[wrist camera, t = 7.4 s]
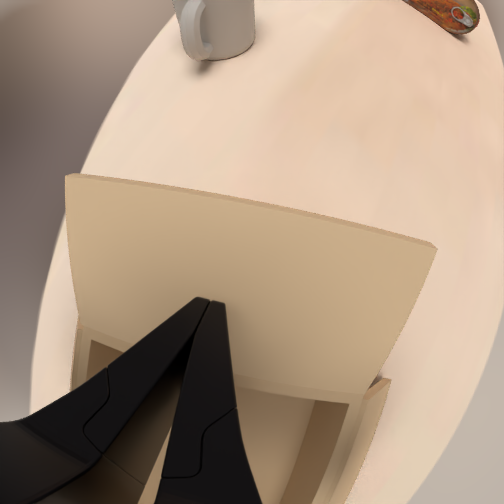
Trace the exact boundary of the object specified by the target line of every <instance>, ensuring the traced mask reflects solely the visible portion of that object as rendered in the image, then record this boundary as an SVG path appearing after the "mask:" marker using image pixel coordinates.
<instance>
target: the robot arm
mask: <svg viewBox="0 0 504 504" xmlns="http://www.w3.org/2000/svg"><path fill="white" fill-rule="evenodd" d="M171 426H172V428H171ZM170 428H171V432H170V436H169V441H168V445H167V450H166V454H165V459H164V464H163V468H162V473H161V479H160V483H159V487H158V491H157V495H156V498H155V502H154V504H263V503H262V500H261V497H260V494H259V492H258V489H257V486H256V483H255V480H254V477H253V474H252V471H251V468H250V464H249V461H248V458H247V454H246V451H245V447H244V443H243V439H242V433H241V428H240V422H239V414H238V409H237V400H236V392H235V384H234V376H233V368H232V359H231V350H230V341H229V332H228V323H227V313H226V305H225V303H223V302H219V301H215V300H212V301H210V300H209V299H207V298H202V297H195V298H193V299H192V300H191V301H190V302H188V303H187V304H186V305H184V306H183V307H182V308H181V309H179V310H178V311H177V312H175V313H174V314H173V315H172V316H170V317H169V318H168V319H166V320H165V321H164V322H163V323H161V324H160V325H159V326H157V327H156V328H155V329H154V330H152V331H151V332H150V333H148V334H147V335H146V336H145V337H143V338H142V339H141V340H139V341H138V342H137V343H136V344H134V345H133V346H132V347H130V348H129V349H128V350H127V351H125V352H124V353H123V354H121V355H120V356H119V357H118V358H116V359H115V360H114V361H112V362H111V363H110V364H108V365H107V367H104V368H103V369H102V370H101V371H99V372H98V373H97V374H95V375H94V376H93V377H91V378H90V379H89V380H87V381H86V382H84V383H83V384H82V385H80V386H79V387H77V388H75V389H74V390H72V391H71V392H69V393H68V394H66V395H64V396H63V397H61V398H59V399H58V400H56V401H54V402H52V403H51V404H49V405H47V406H46V407H44V408H42V409H40V410H39V411H37V412H35V413H33V414H32V415H30V416H28V417H26V418H23V419H20V420H15V421H10V422H0V504H138V502H139V500H140V497H141V495H142V493H143V490H144V488H145V485H146V483H147V481H148V479H149V476H150V474H151V472H152V470H153V467H154V465H155V463H156V460H157V458H158V456H159V453H160V451H161V449H162V447H163V444H164V442H165V440H166V437H167V435H168V433H169V431H170Z"/></svg>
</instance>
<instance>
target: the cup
mask: <svg viewBox="0 0 504 504" xmlns="http://www.w3.org/2000/svg"><path fill="white" fill-rule="evenodd" d="M172 1H173V5H174V8H175V12H176V16H177V19H178V23H179V26H180V32H181V39H182V43H183V46H184V49H185V51H186V53H187V55H188V56H189V57H190V58H192V59H194V60H196V61H201V60H204V59H206V60H222V59H228V58H231V57H235V56H237V55H239V54H241V53H243V52H244V51H246V50H247V49H248V48H249V47H250V46H251V44H252V43H253V42H254V38H255V15H254V0H172Z"/></svg>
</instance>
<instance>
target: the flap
mask: <svg viewBox="0 0 504 504" xmlns="http://www.w3.org/2000/svg"><path fill="white" fill-rule="evenodd" d="M65 203H66V223H67V237H68V247H69V257H70V265H71V272H72V279H73V286H74V292H75V298H76V303H77V309H78V314H79V319H80V323H81V325H84V326H86V327H89V328H91V329H93V330H96V331H99V332H101V333H104V334H106V335H109V336H111V337H114V338H117V339H120V340H122V341H125V342H128V343H131V344H133V345H134V344H136V343H137V342H138V341H139V340H141V339H142V338H143V337H145V336H146V335H147V334H148V333H150V332H151V331H152V330H154V329H155V328H156V327H157V326H159V325H160V324H161V323H163V322H164V321H165V320H166V319H168V318H169V317H170V316H172V315H173V314H174V313H175V312H177V311H178V310H179V309H181V308H182V307H183V306H184V305H186V304H187V303H188V302H190V301H191V300H192V299H193V298H195V297H202V298H207V299H209V300H210V301H212V300H215V301H219V302H223V303H225V305H226V313H227V323H228V332H229V341H230V350H231V359H232V368H233V373H234V374H238V375H243V376H248V377H252V378H257V379H262V380H267V381H272V382H278V383H283V384H289V385H295V386H301V387H308V388H314V389H322V390H329V391H338V392H347V393H356V394H365V393H366V392H367V390H368V388H369V387H370V385H371V384H372V382H373V380H374V379H375V377H376V376H377V374H378V372H379V371H380V369H381V367H382V366H383V364H384V362H385V360H386V359H387V357H388V355H389V353H390V352H391V350H392V348H393V346H394V344H395V342H396V341H397V339H398V337H399V335H400V333H401V331H402V329H403V327H404V325H405V323H406V321H407V319H408V317H409V315H410V313H411V311H412V309H413V307H414V305H415V302H416V300H417V298H418V296H419V294H420V291H421V289H422V287H423V284H424V282H425V280H426V277H427V275H428V272H429V270H430V268H431V265H432V262H433V260H434V257H435V255H436V252H437V248H436V247H435V246H434V245H433V244H432V243H430V242H427V241H423V240H419V239H416V238H412V237H409V236H405V235H401V234H397V233H394V232H390V231H386V230H382V229H378V228H374V227H370V226H366V225H362V224H358V223H354V222H350V221H346V220H342V219H337V218H333V217H329V216H325V215H320V214H316V213H311V212H307V211H302V210H297V209H293V208H288V207H283V206H279V205H274V204H269V203H264V202H259V201H254V200H249V199H243V198H238V197H233V196H227V195H222V194H216V193H211V192H205V191H199V190H193V189H187V188H181V187H175V186H168V185H162V184H155V183H148V182H141V181H134V180H127V179H120V178H112V177H104V176H96V175H87V174H77V173H74V174H70V175H67V176H65Z"/></svg>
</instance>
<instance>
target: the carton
mask: <svg viewBox="0 0 504 504" xmlns="http://www.w3.org/2000/svg"><path fill="white" fill-rule="evenodd" d="M132 346H133V344H131V343H128V342H125V341H122V340H120V339H117V338H114V337H111V336H109V335H106V334H104V333H101V332H99V331H96V330H93V329H91V328H89V327H86V326H84V325H81V323H80V319H79V316H78V322H77V328H76V335H75V342H74V350H73V359H72V369H71V381H70V392H71V391H72V390H74V389H75V388H77V387H79V386H80V385H82V384H83V383H84V382H86V381H87V380H89V379H90V378H91V377H93V376H94V375H95V374H97V373H98V372H99V371H101V370H102V369H103V368H104V367H107V365H108V364H110V363H111V362H112V361H114V360H115V359H116V358H118V357H119V356H120V355H121V354H123V353H124V352H125V351H127V350H128V349H129V348H130V347H132ZM233 376H234V384H235V392H236V400H237V409H238V414H239V422H240V428H241V433H242V439H243V443H244V447H245V451H246V454H247V458H248V461H249V464H250V468H251V471H252V474H253V477H254V480H255V483H256V486H257V489H258V492H259V494H260V497H261V500H262V503H263V504H344V503H345V501H346V499H347V497H348V495H349V493H350V491H351V489H352V486H353V484H354V482H355V480H356V478H357V476H358V473H359V471H360V469H361V466H362V464H363V462H364V459H365V457H366V454H367V452H368V449H369V447H370V444H371V442H372V439H373V436H374V434H375V431H376V428H377V425H378V422H379V419H380V416H381V413H382V410H383V407H384V404H385V401H386V397H387V394H388V391H389V387H390V384H391V379H386V378H383V379H382V380H380V381H379V382H378V383H376V384H375V385H374V386H372V387H371V388H370V389H368V390H367V392H366V393H365V394H356V393H347V392H338V391H329V390H322V389H314V388H308V387H301V386H295V385H289V384H283V383H278V382H272V381H267V380H262V379H257V378H252V377H248V376H243V375H238V374H234V373H233ZM171 428H172V426H171ZM171 428H170V431H169V433H168V435H167V437H166V440H165V442H164V444H163V447H162V449H161V451H160V453H159V456H158V458H157V460H156V463H155V465H154V467H153V470H152V472H151V474H150V476H149V479H148V481H147V483H146V485H145V488H144V490H143V493H142V495H141V497H140V500H139V502H138V504H154V502H155V498H156V495H157V491H158V487H159V483H160V479H161V473H162V468H163V464H164V459H165V454H166V450H167V445H168V441H169V436H170V432H171Z"/></svg>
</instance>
